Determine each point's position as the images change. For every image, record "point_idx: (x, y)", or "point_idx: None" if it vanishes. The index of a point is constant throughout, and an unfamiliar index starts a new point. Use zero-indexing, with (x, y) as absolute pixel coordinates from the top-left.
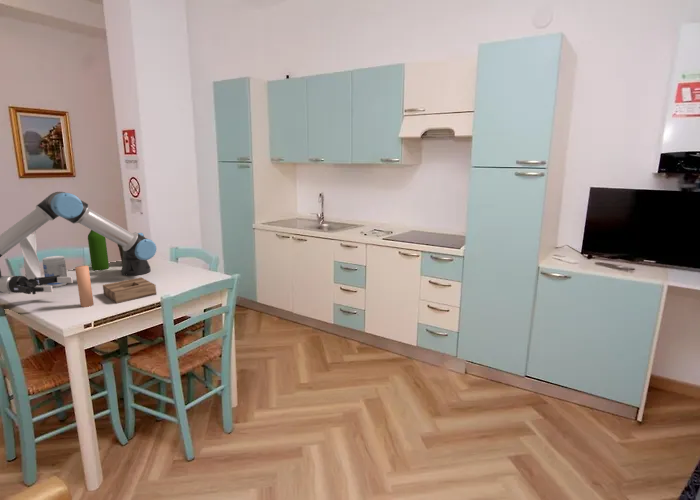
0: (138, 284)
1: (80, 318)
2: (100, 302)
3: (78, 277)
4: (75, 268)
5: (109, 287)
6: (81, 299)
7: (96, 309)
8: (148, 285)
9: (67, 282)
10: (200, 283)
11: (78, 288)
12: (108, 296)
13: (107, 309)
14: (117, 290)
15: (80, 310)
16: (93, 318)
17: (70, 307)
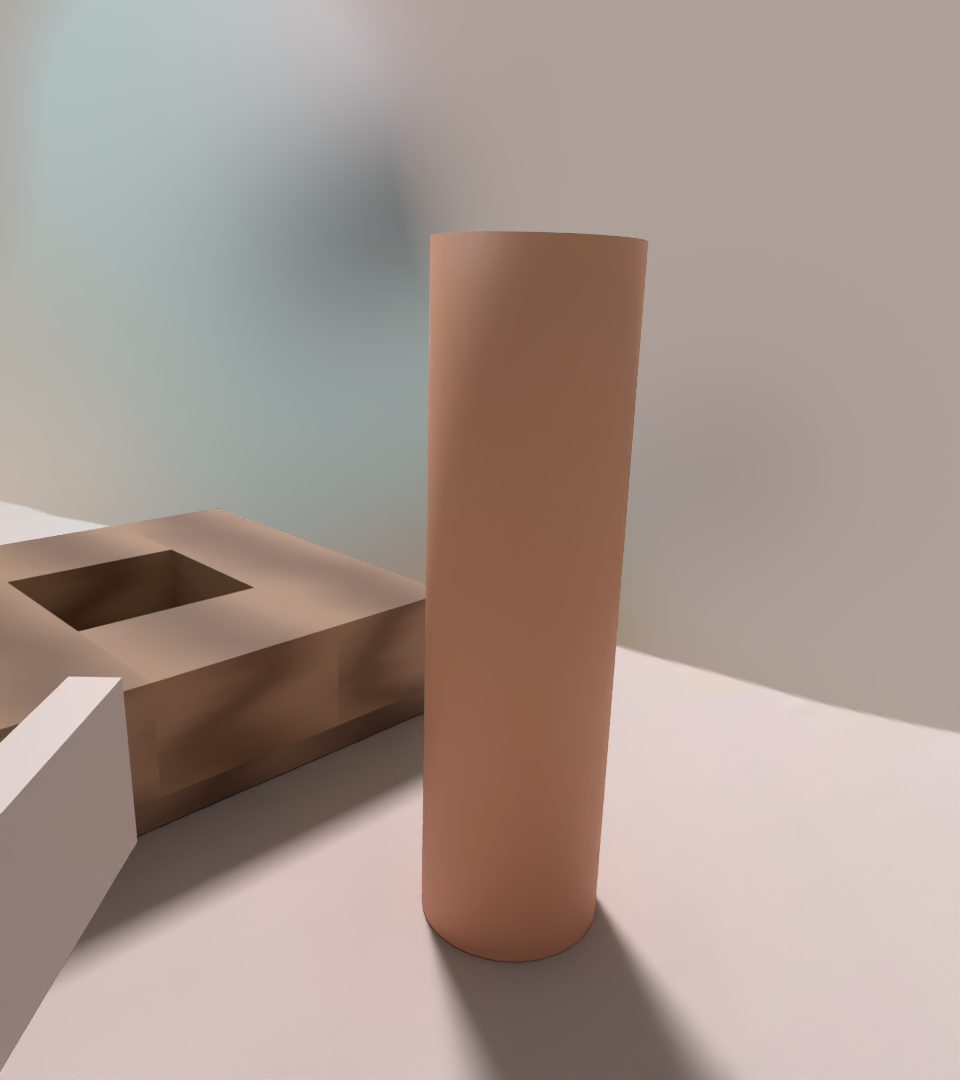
0: (147, 555)
1: (927, 783)
2: (388, 818)
3: (632, 424)
4: (632, 245)
5: (177, 660)
6: (603, 800)
7: (641, 769)
8: (225, 522)
9: (84, 920)
10: (28, 517)
11: (602, 643)
12: (206, 785)
13: (619, 708)
14: (344, 598)
15: (720, 881)
16: (863, 713)
17: (638, 1076)
